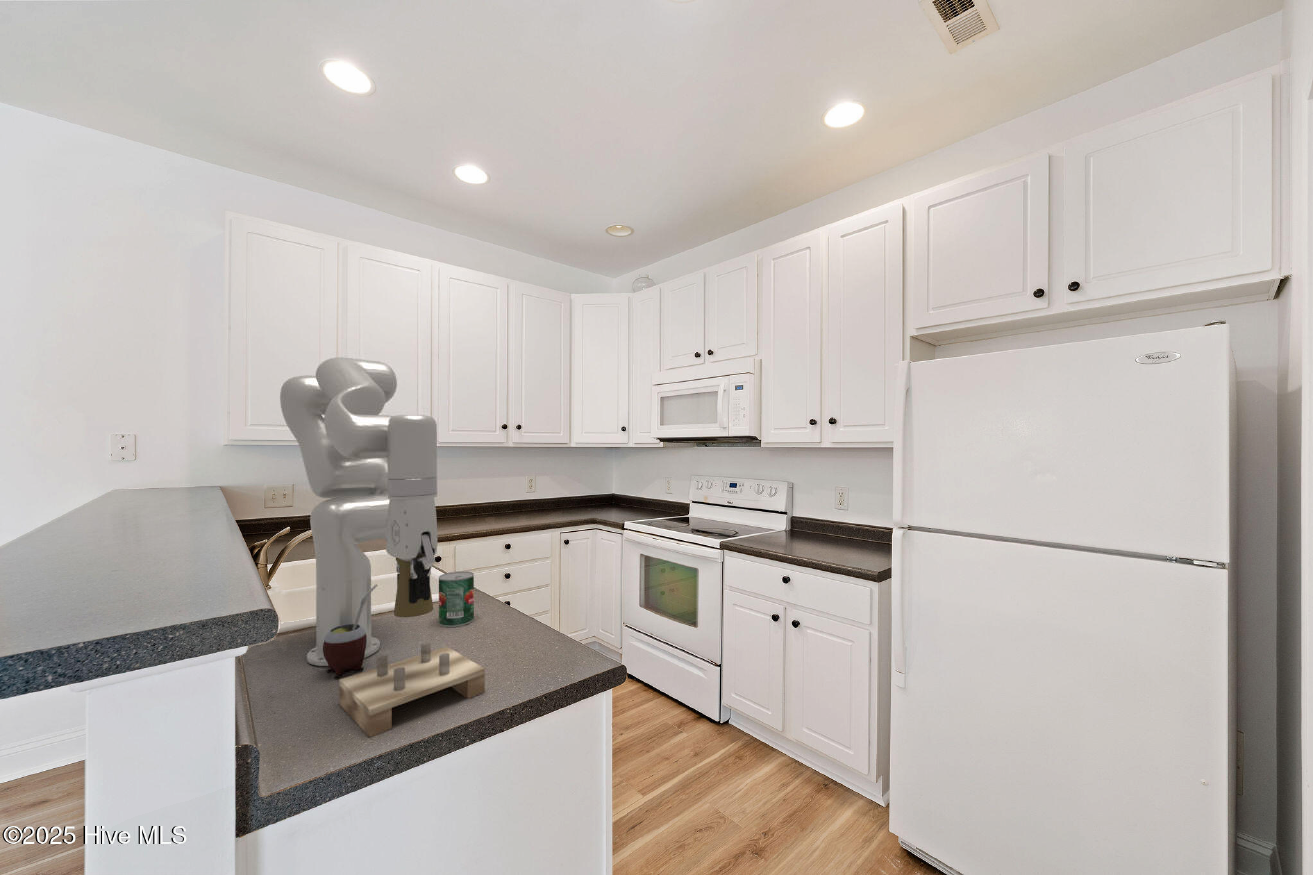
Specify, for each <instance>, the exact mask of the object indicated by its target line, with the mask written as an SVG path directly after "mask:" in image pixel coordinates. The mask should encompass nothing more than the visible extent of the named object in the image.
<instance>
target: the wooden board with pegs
mask: <svg viewBox="0 0 1313 875" xmlns="http://www.w3.org/2000/svg"><path fill="white" fill-rule="evenodd" d="M485 672H486V671H485V668H484V667H482V666H481V665H479V664H477V663H476V662H474V661H473V660H470V659H469V658H467V657H465V656H464V655H462V654H461V653H459V652H457V651H455V650H454V649H452V648H450V647H448V646H445V647H441V648H438V649H436V650H432V643H431V642H429V641H427V642H423V643H421V644H420V654H418V655H415V656H412V657H409V658H406V659H403V660H399V661H396V662H392V663H390V664H389V656H388V654H381V655H378V656H376V668H373V669H369V670H366V671H362V672H358V673H356V674H352V675H351V676H347V677H344V678H339V679H338V680H339V681H338V682H339V684H338V686H339V690H338V691H339V693H338V694H339V696H338V697H339V702H338V703H339V705H340V707H341V708H342V709H343V710H345V712H346V713H347V714H348V715H349V716H350V717H351V718H352V719H353V721H354V722H356V724H357V725H358V726H359V727H360V728H361V729H362V731H364V733H365V734H366V735H367V736H368V737H369V738H373V737H374V736H376V735H378V734H382V733H384V732H387V731H389V730H391V729H392V728H393V727H392V725H393V724H392V721H393V720H392V712H393V711H392V708H395V707H397V706H401V705H402V704H407V703H408V702H411V701H414V700H417V699H419V698H422V697H425V696H428V695H430V694H434V693H436V692H439V691H442V690H445V689H447V688H450V687H451V688H452V689H454V690H455V691H456V692H457V693H459V694H461V695H462V696H463V697H465V699H470V698H473V697H476V696H478V695H480V694H484V693H485V691H486V690H485V688H486V687H485V686H486V685H485V682H486V681H485V677H486V676H485V675H486V674H485Z"/></svg>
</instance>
